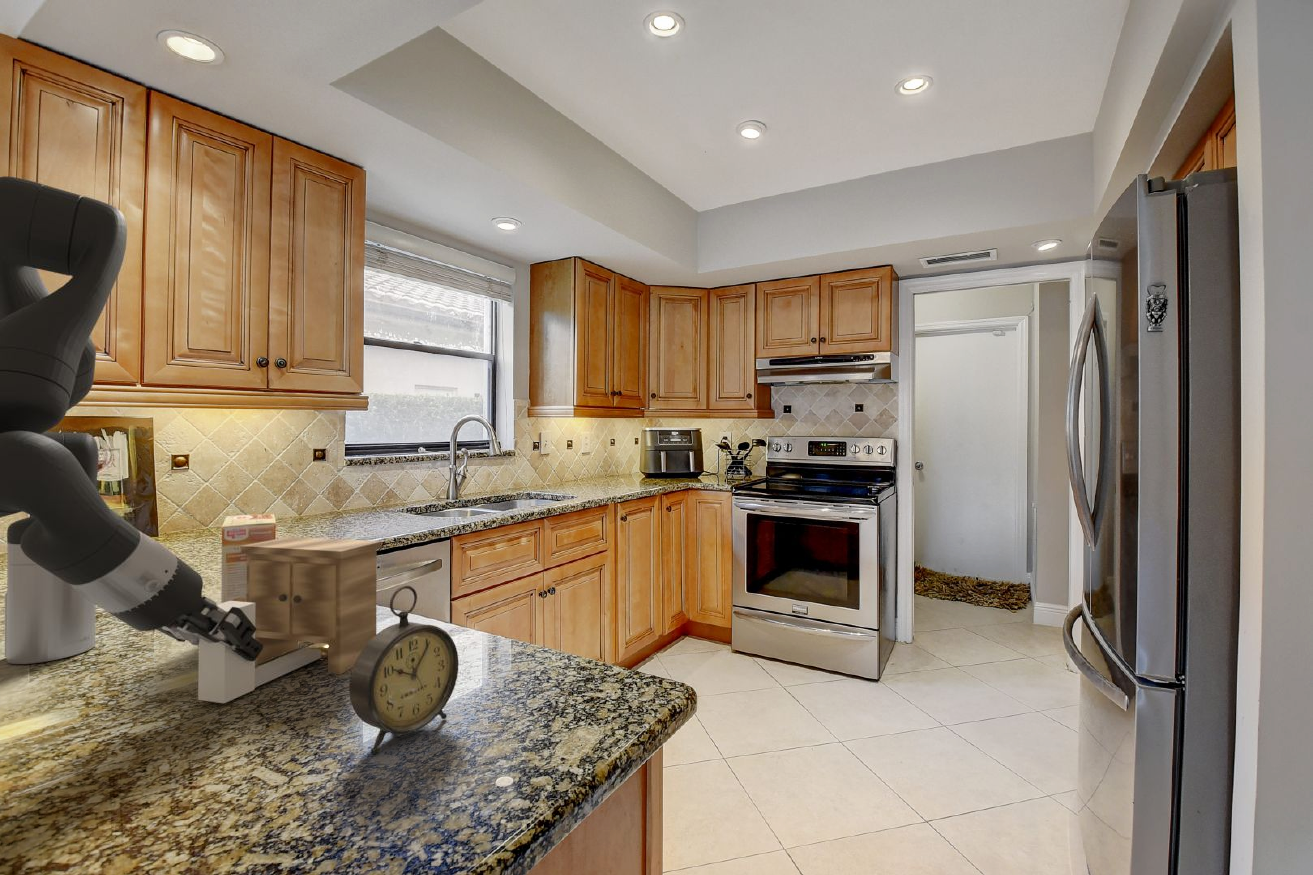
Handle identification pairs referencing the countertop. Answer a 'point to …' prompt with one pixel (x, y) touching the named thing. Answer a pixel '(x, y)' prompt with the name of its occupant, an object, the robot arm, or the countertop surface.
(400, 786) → the countertop surface
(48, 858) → the countertop surface
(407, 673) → the alarm clock
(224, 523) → the coffeecake box
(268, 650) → the cabinet
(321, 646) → the token
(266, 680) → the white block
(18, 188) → the robot arm
